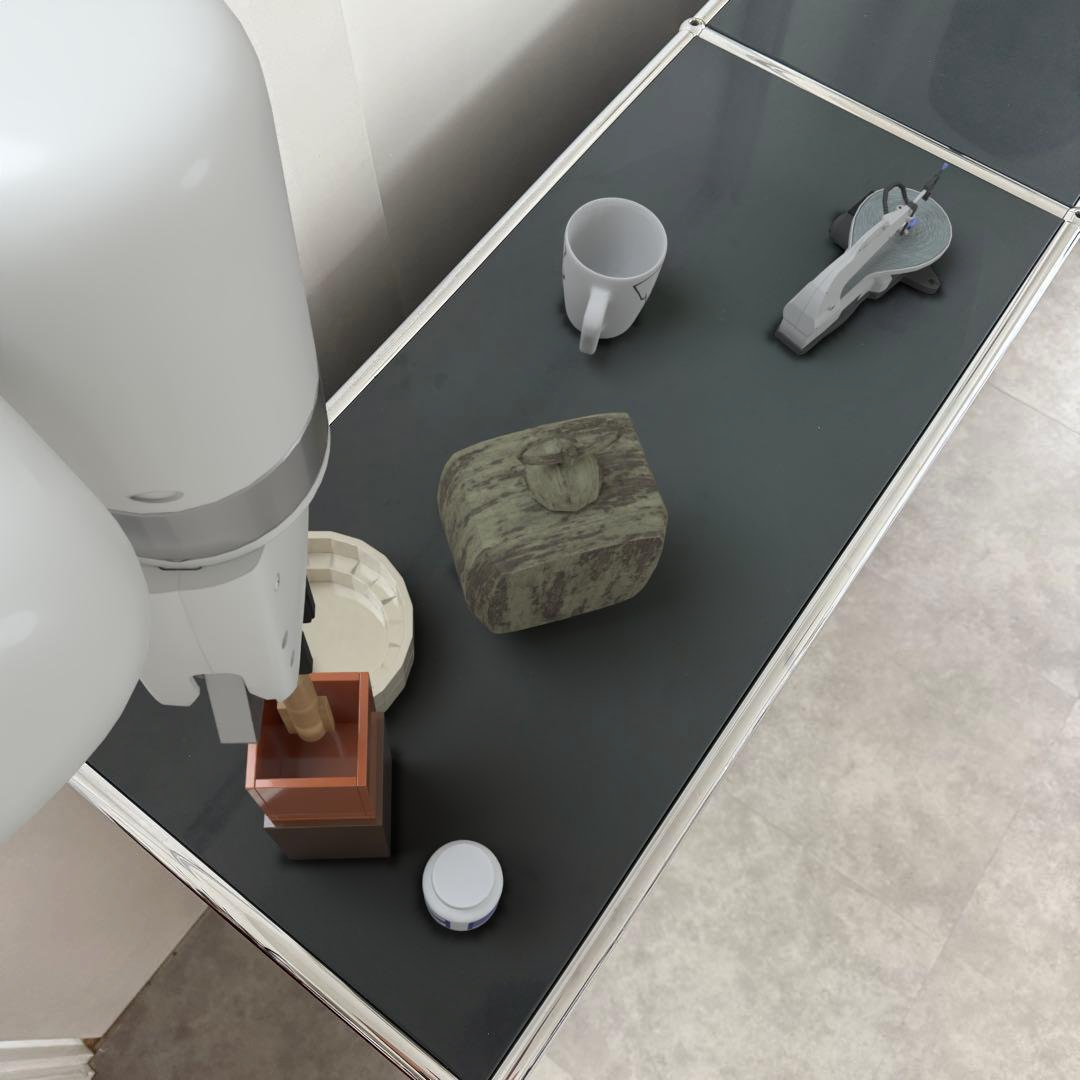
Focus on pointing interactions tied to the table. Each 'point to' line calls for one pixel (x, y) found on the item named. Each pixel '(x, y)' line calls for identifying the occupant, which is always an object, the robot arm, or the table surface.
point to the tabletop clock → (552, 521)
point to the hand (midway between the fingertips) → (275, 640)
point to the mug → (610, 266)
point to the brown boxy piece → (326, 776)
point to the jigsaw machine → (870, 260)
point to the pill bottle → (462, 885)
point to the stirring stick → (306, 712)
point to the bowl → (359, 614)
